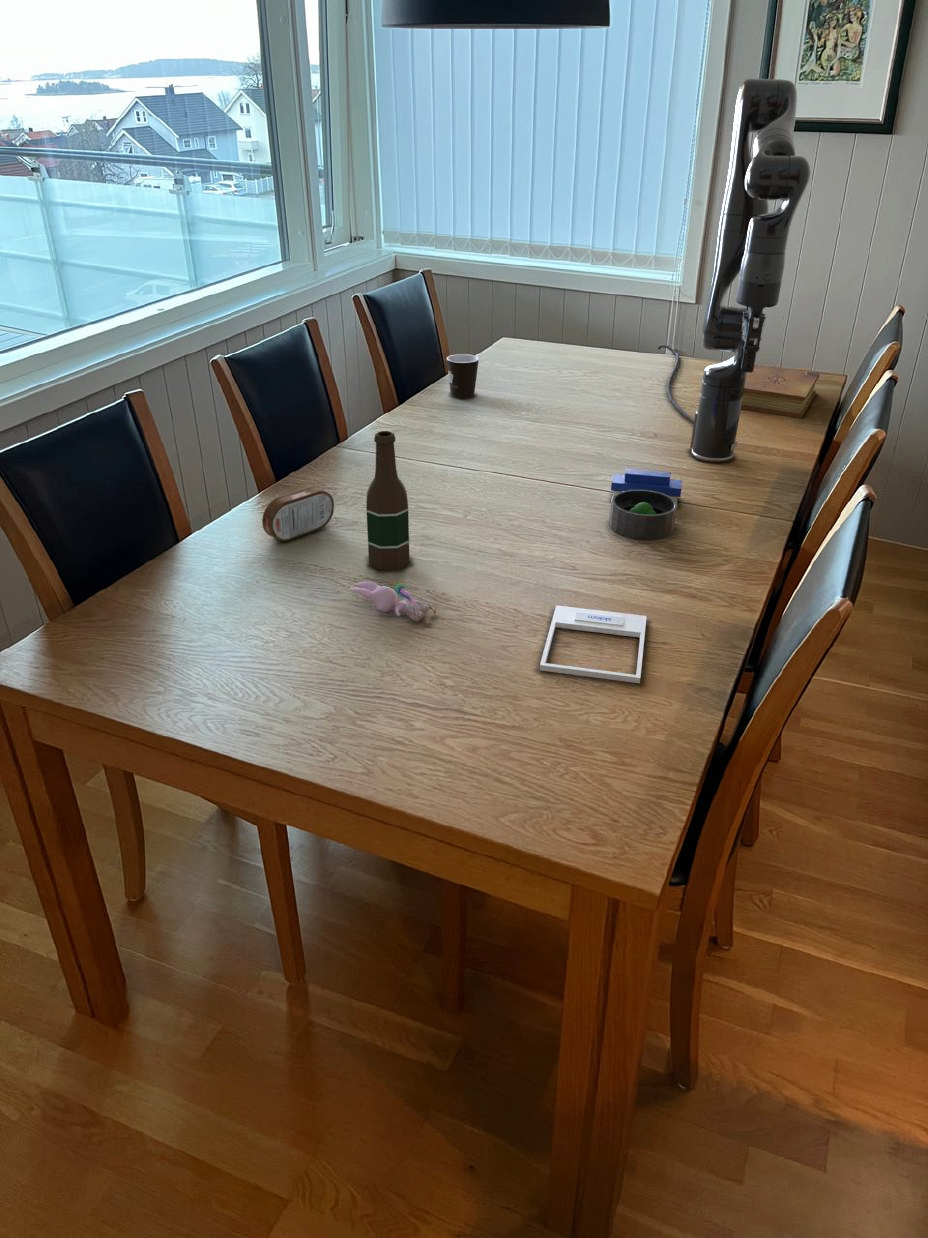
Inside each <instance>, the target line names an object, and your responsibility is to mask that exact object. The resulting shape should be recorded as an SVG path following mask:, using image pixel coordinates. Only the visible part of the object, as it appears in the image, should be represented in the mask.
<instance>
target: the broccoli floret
mask: <svg viewBox="0 0 928 1238" xmlns="http://www.w3.org/2000/svg"><path fill="white" fill-rule="evenodd" d="M628 512H632V513H637V514H645V515H656V514H657V513H656V512H655V511H654V510H653V508H652V506H651V505H650V504H648V503H645V502H642V503H639V504H637V505H636V506H635V507H634V508H631V509H630V510H629V511H628Z"/></svg>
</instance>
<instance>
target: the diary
mask: <svg viewBox="0 0 928 1238" xmlns="http://www.w3.org/2000/svg"><path fill="white" fill-rule="evenodd" d="M820 374H821V373H819V372H812V371H805V370H797V369H790V368H784V367H783V368H782V367H774V366H768V365H759V364H754V369H753V372H751V373H749V372H747V373H746V380H745V387H744V393H743V399H742V405H741V410H745V411H752V412H759V413H766V414H772V415H781V416H787V417H793V418H803V416H804V414H805V413H806V411H807V410H808V408H809V406H810V404H811V403H812V401H813V399H814V397H815V395H816V394H817V390H816V389H815V387H816V382H817V381H818V379H819V378H820Z"/></svg>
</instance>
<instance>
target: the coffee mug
mask: <svg viewBox="0 0 928 1238" xmlns="http://www.w3.org/2000/svg"><path fill="white" fill-rule="evenodd" d="M479 361H480V358H479V357H478V356H476V355H474V354H467V353H457V354H451V355H448V356H447V357H446V365H447V366H446V367H447V375H448V383H449V391H450V397H452V398H454V399H459V400H465V399H472V398H473V397H475V392H476V391H475V390H476V384H477V377H478V369H479Z"/></svg>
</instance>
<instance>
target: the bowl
mask: <svg viewBox="0 0 928 1238" xmlns="http://www.w3.org/2000/svg"><path fill="white" fill-rule="evenodd" d="M642 502H645V503H648V504H650V505H651V506H652V508H653V510H654V511H655V512H656V513H657V514H656V515H645V514H637V513H632V512H628V511H629V510H630V509H631V508H634V507H635V506H636V505H637V504H639V503H642ZM677 512H678V501H677V502H676V501H675V500H674V499H673V498H671V497H670V496H668V495H666V494H663V493H660V492H656V491H651V490H627V491H622V492H620V493H617V494H615V495H614V496H613V495H612V498H611V501H610V509H609V519H608V526H609V528H610V529H611V530H612V531H613V532H614V533H615V534H618V535H620V536H622V537H625V538H628V539H632V540H640V541H655V540H661V539H662V540H663V539H665V538H667V537H669V536H671V535H672V534H673V533H674V532H675V526H676V519H677Z"/></svg>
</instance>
